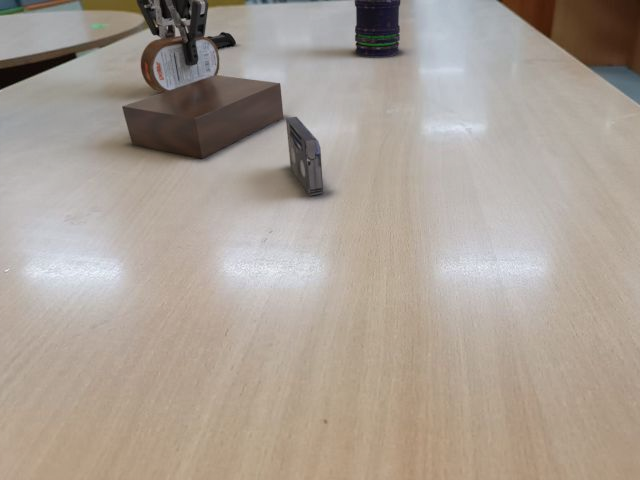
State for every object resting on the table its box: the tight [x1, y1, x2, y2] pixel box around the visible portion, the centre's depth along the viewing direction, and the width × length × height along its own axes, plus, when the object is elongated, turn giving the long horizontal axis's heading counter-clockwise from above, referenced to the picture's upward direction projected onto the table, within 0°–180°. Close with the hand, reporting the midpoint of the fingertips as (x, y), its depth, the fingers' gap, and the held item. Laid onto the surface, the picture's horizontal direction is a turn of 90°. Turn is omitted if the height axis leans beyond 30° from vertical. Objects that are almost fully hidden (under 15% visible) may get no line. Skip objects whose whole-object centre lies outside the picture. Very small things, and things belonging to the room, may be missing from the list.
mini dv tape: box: [285, 116, 324, 197], centre depth 56 cm, size 8×2×6 cm, turn 21°
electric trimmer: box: [205, 31, 237, 48], centre depth 118 cm, size 4×16×3 cm, turn 146°
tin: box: [140, 35, 220, 93], centre depth 88 cm, size 15×3×8 cm, turn 145°
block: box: [121, 74, 284, 160], centre depth 70 cm, size 12×18×5 cm, turn 153°
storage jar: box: [354, 0, 402, 58], centre depth 110 cm, size 10×10×15 cm
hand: (183, 63), depth 88 cm, fingers closed on tin, 3 cm apart
